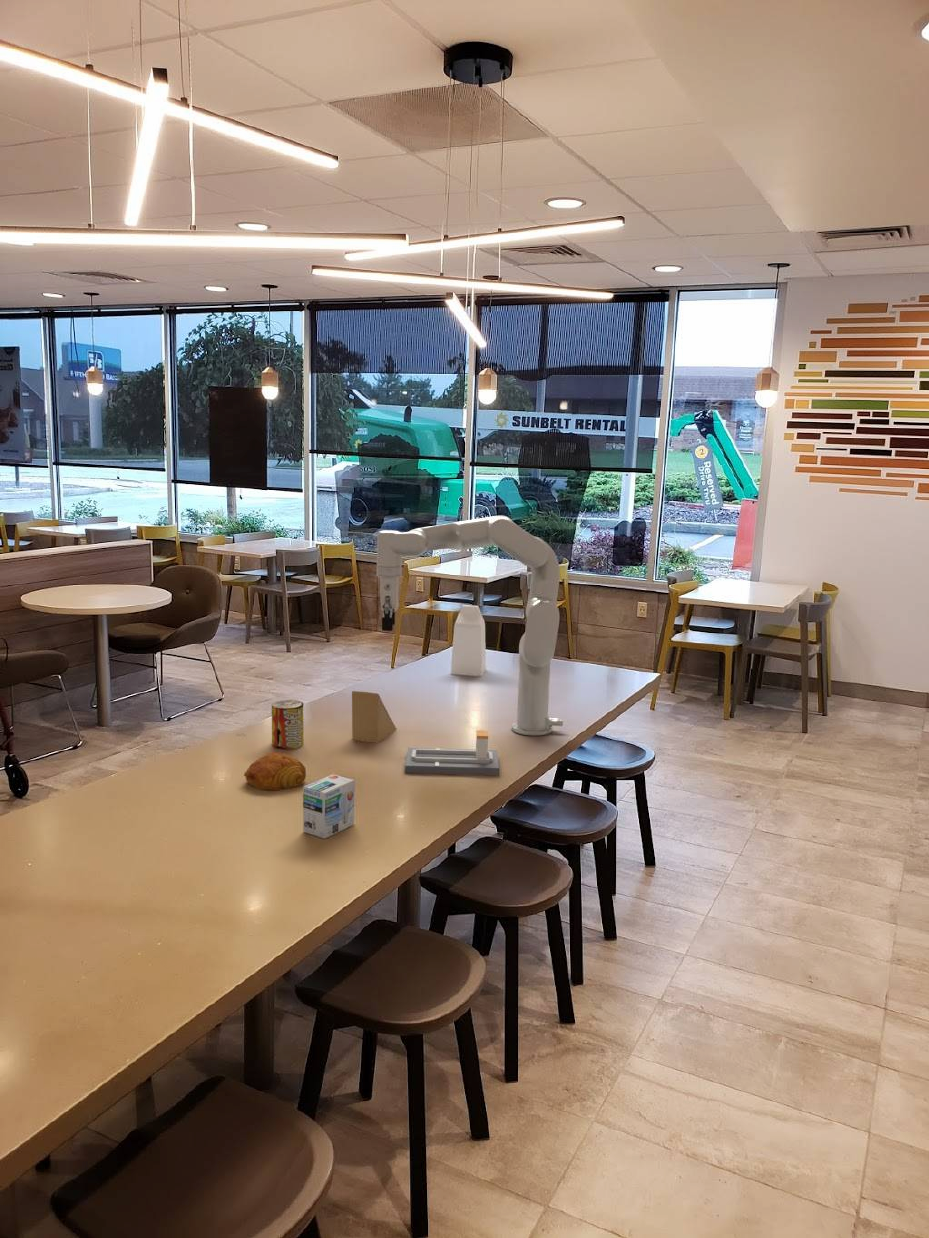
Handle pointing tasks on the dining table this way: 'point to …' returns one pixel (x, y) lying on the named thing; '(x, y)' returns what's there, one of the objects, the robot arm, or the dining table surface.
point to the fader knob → (481, 744)
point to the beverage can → (287, 724)
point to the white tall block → (469, 643)
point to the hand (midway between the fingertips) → (388, 627)
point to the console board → (450, 761)
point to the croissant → (276, 772)
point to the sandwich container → (370, 718)
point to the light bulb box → (328, 806)
